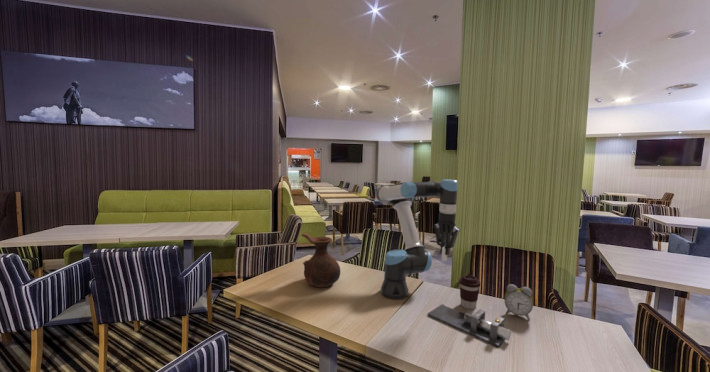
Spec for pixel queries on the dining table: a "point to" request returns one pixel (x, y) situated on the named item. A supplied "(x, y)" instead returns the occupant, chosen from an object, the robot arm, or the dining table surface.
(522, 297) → the alarm clock
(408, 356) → the dining table surface
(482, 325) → the tube
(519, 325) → the dining table surface
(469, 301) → the coffee cup
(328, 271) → the jug
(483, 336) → the grey holder stand
